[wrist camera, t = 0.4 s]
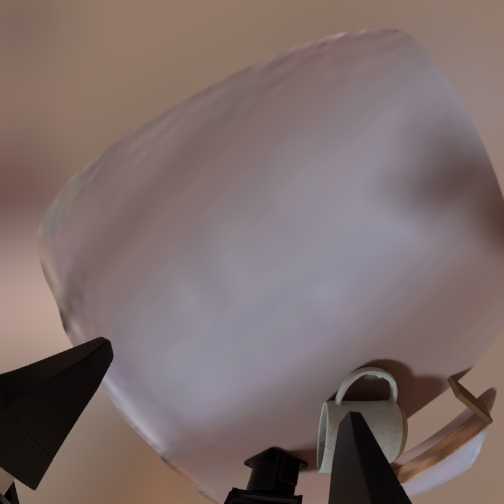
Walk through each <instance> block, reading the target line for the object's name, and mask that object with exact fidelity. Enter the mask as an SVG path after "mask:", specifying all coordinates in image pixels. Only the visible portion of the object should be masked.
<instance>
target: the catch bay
mask: <svg viewBox="0 0 504 504" xmlns="http://www.w3.org/2000/svg"><path fill="white" fill-rule="evenodd" d="M447 380H448V382H449V384H450V386H451V388H452V390H453V392H454V394H455V396H456V398H457V399H459V400H460V401H461V402H463V403H464V404H465V405H466V406H467V407H469V408H470V409H471V410H472V411H474V412H475V413H476V414H475V415H473V416H472V417H471V418H470V419H469V420H468V421H466V422H465V423H464V424H463V425H461V426H460V427H459V428H458V429H456V430H455V431H454V432H453V433H451V434H450V435H449V436H447V437H446V438H445V439H443V440H442V441H440V442H439V443H438V444H436V445H435V446H433V447H432V448H430V449H429V450H427V451H426V452H424V453H423V454H421V455H420V456H418V457H416V458H415V459H413V460H412V461H410V462H408V463H407V464H405V465H403V466H401V467H400V468H398V469H396V470H394V473H395V474H396V476H397V478H398V480H399V482H400V485H401V484H403V483H405V482H407V481H409V480H411V479H412V478H414V477H416V476H418V475H420V474H421V473H423V472H425V471H426V470H428V469H430V468H431V467H433V466H434V465H436V464H438V463H439V462H441V461H442V460H444V459H445V458H447V457H448V456H450V455H451V454H453V453H454V452H455V451H457V450H458V449H459V448H461V447H462V446H464V445H465V444H466V443H467V442H469V441H470V440H471V439H473V438H474V437H475V436H476V435H478V434H479V433H480V432H481V431H482V430H484V429H485V428H486V427H487V426H488V425H489V424H491V423H492V422H493V420H492V418H491V416H490V414H489V412H488V410H487V409H486V407H485V406H484V405H483V404H482V403H481V402H480V401H479V400H477V399H476V398H475V397H474V396H473V395H472V394H471V393H470V392H469V391H468V390H466V389H465V388H464V387H463V386H462V385H461V384H460V383H459V382H457V381H456V380H455V379H454V378H453V377H452V376H451V377H450V378H449V379H447Z"/></svg>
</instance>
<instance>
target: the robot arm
mask: <svg viewBox="0 0 504 504" xmlns="http://www.w3.org/2000/svg"><path fill="white" fill-rule="evenodd" d="M112 360H113V350H112V346H111V342H110V341H109V340H108V339H106V338H104V337H98V338H96V339H93V340H91V341H89V342H86V343H83V344H81V345H78V346H76V347H73V348H71V349H68V350H66V351H63V352H61V353H58V354H56V355H53V356H50V357H48V358H45V359H43V360H40V361H38V362H35V363H32V364H30V365H28V366H24V367H22V368H19V369H16V370H13V371H10V372H6V373H3V374H0V504H19V500H18V497H17V492H16V488H15V483H14V480H15V478H16V479H18V480H19V481H20V482H22V483H23V484H25V485H26V486H28V487H29V488H31V489H33V490H35V489H36V488H37V487H38V485H39V483H40V481H41V480H42V478H43V476H44V474H45V473H46V471H47V469H48V467H49V466H50V464H51V462H52V461H53V458H54V457H55V455H56V453H57V452H58V450H59V448H60V447H61V445H62V444H63V442H64V440H65V439H66V437H67V435H68V434H69V432H70V431H71V429H72V427H73V426H74V424H75V423H76V421H77V420H78V418H79V416H80V415H81V413H82V412H83V410H84V408H85V407H86V406H87V404H88V403H89V401H90V400H91V398H92V397H93V395H94V393H95V392H96V390H97V389H98V387H99V385H100V383H101V381H102V379H103V377H104V376H105V374H106V372H107V370H108V368H109V366H110V364H111V362H112ZM244 465H246V466H248V467H250V468H252V472H251V476H250V479H249V482H248V485H247V489H246V490H242V489H238V488H234V487H233V489H232V491H230V492H229V494H228V496H227V498H226V500H225V502H224V504H302V497H303V495H298V496H296V495H294V493H295V487H296V486H297V481H298V475H299V471H301V470H303V469H305V468H307V467H308V464H307V463H305V462H303V461H301V460H298V459H296V458H294V457H291V456H289V455H287V454H285V453H283V452H281V451H279V450H276V449H274V448H269V449H267V450H265V451H264V452H262V453H260V454H258V455H256V456H254V457H252V458H250V459H248V460H246V461H245V462H244ZM328 504H412V503H411V501H410V500H409V498H408V496H407V494H406V493H405V491H404V489H403V487H402V485H400V482H399V480H398V478H397V476H396V474H395V473H394V471H393V469H392V467H391V465H390V464H389V462H388V460H387V458H386V456H385V455H384V453H383V451H382V449H381V447H380V446H379V444H378V442H377V440H376V438H375V437H374V435H373V433H372V431H371V430H370V428H369V426H368V424H367V422H366V421H365V419H364V417H363V415H362V414H361V413H360V412H358V411H349V412H348V413H347V414H346V415H345V417H344V418H343V419H342V421H341V422H340V424H339V427H338V433H337V439H336V444H335V450H334V455H333V461H332V470H331V482H330V493H329V502H328Z"/></svg>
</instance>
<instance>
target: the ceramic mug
mask: <svg viewBox="0 0 504 504" xmlns="http://www.w3.org/2000/svg"><path fill="white" fill-rule="evenodd" d="M365 374H372V375H376V376H378V377H379V378H385V379H386V380H388V381H389V383H390V398H389V400H388V401H385V400H379V401H342V398H343V397H344V394H345V393H346V391H347V389H348V388H349V386H350V385H351V384H352V383H354V382H355V381H356V380H357V379H359V378H360V377H361V376H363V375H365ZM397 396H398V389H397V384H396V382H395V380H394V378H393V377H392V376H391V375H390V374H389V373H388V372H387V371H385V370H383V369H381V368H378V367H363V368H360V369H357V370H355V371H354V372H352V373H351V374H350V375H349V376H347V377H346V379H345V380H344V381H343V383H342V384H341V386H340V388H339V390H338V393H337V395H336V399H335V401H325V403H324V404H323V408H322V411H321V417H320V423H319V431H318V444H317V469H318V472H319V473H331V470H332V461H333V455H334V450H335V444H336V439H337V433H338V427H339V424H340V422H341V421H342V419H343V418H344V417H345V415H346V414H347V413H348V412H349V411H358V412H360V413H361V414H362V415H363V417H364V419H365V421H366V422H367V424H368V426H369V428H370V430H371V431H372V433H373V435H374V437H375V438H376V440H377V442H378V444H379V446H380V447H381V449H382V451H383V453H384V455H385V456H386V458H387V460H388V462H389V463H392V462H394V461H395V460H397V459H398V458H399V457H400V455H401V454H402V452H403V450H404V447H405V444H406V441H407V433H408V424H407V417H406V413H405V411H404V409H403V407H402V406H401V405H400V404H399V403H398V402H396V401H397Z"/></svg>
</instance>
